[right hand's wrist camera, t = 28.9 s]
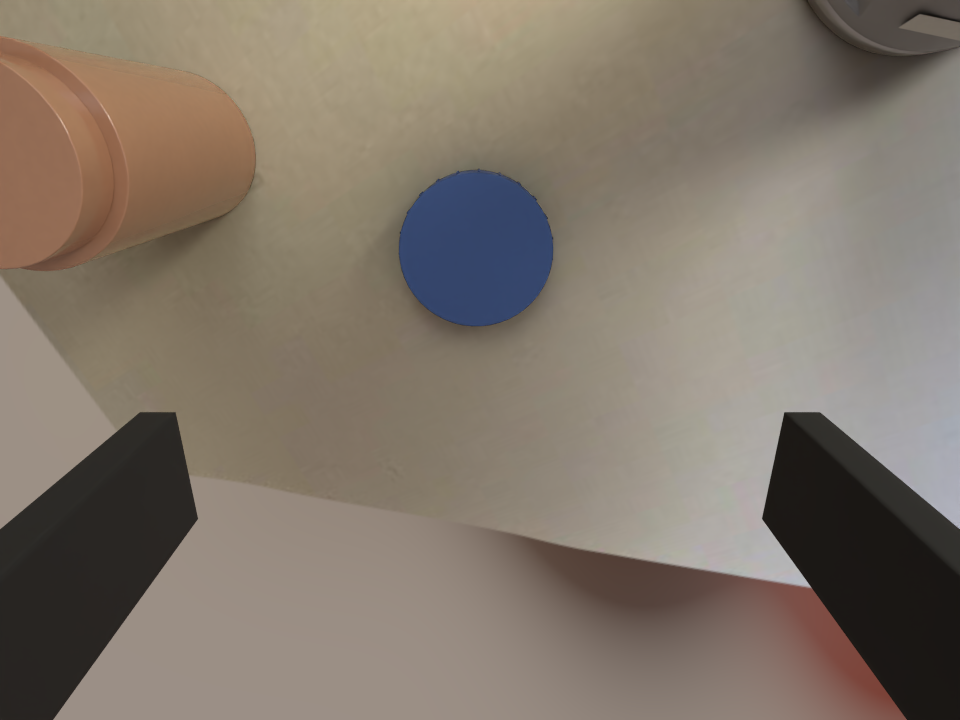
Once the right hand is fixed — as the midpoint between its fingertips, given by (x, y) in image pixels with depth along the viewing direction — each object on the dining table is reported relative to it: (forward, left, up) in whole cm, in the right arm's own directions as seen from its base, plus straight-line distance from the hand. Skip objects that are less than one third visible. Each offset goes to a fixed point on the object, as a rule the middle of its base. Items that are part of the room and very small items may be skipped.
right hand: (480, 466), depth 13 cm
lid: (0, 0, -24) cm, 25 cm away
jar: (-3, -18, -26) cm, 32 cm away
